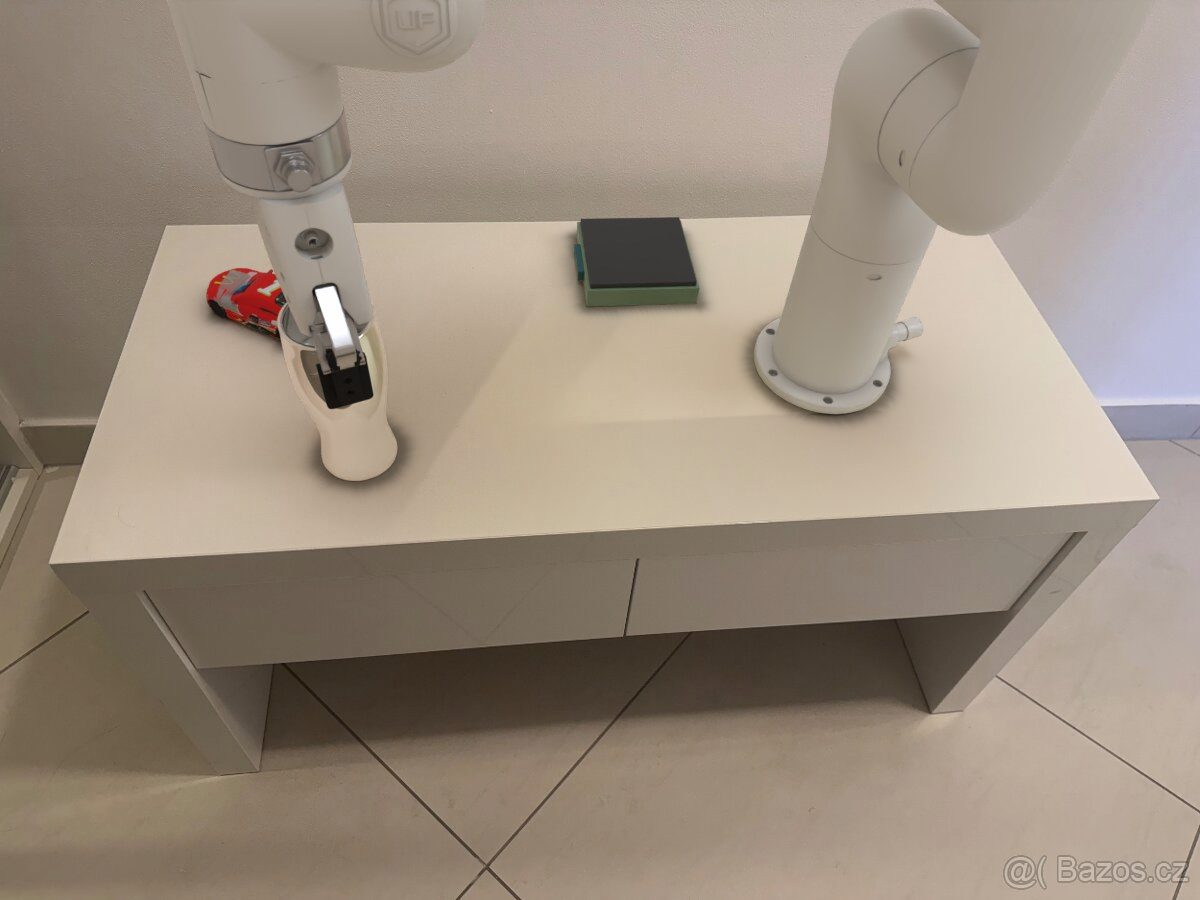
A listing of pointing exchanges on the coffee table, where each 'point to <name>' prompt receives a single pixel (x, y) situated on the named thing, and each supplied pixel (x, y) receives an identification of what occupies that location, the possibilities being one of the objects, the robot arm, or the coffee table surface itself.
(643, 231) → the scale
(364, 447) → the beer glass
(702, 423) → the coffee table surface
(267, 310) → the race car
